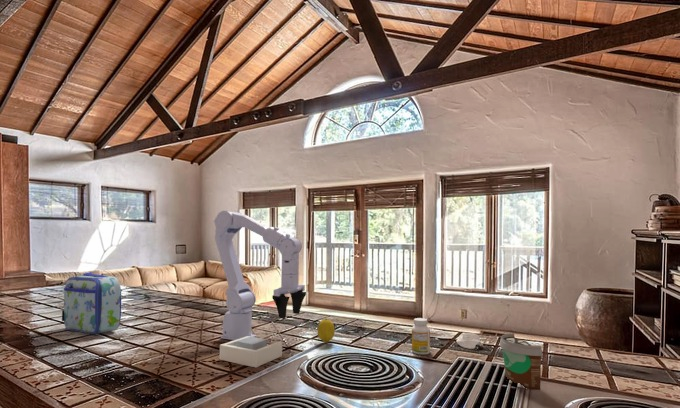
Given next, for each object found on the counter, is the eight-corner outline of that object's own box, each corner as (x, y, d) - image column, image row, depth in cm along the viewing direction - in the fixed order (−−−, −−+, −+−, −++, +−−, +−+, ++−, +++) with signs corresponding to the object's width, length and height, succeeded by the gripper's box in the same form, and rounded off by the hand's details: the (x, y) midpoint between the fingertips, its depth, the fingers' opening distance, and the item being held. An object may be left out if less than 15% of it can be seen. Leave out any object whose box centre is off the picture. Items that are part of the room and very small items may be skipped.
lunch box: (57, 329, 142) (60, 273, 144) (88, 323, 151) (91, 270, 153) (90, 339, 128) (94, 276, 130) (123, 332, 137) (126, 274, 139)
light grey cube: (236, 359, 107) (236, 341, 108) (252, 353, 113) (252, 336, 114) (252, 362, 105) (252, 344, 105) (267, 356, 110) (268, 338, 111)
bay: (219, 359, 107) (219, 344, 107) (247, 349, 117) (247, 335, 117) (255, 367, 100) (256, 352, 101) (282, 356, 110) (282, 341, 110)
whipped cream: (453, 348, 121) (451, 333, 121) (462, 342, 126) (460, 327, 126) (477, 352, 115) (474, 336, 116) (486, 345, 120) (484, 330, 121)
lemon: (332, 346, 120) (332, 320, 121) (315, 345, 121) (315, 319, 122) (336, 341, 125) (336, 316, 126) (319, 340, 126) (320, 316, 127)
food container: (491, 373, 96) (490, 333, 97) (514, 372, 96) (512, 332, 97) (518, 393, 84) (516, 347, 85) (544, 392, 84) (542, 346, 85)
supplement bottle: (418, 348, 118) (418, 316, 118) (433, 352, 114) (433, 319, 115) (408, 352, 114) (408, 319, 115) (423, 356, 110) (423, 322, 111)
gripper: (286, 276, 118) (285, 321, 117) (312, 272, 130) (311, 312, 129) (268, 275, 121) (267, 318, 120) (295, 271, 134) (295, 310, 133)
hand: (289, 315), depth 125 cm, fingers open, 7 cm apart
